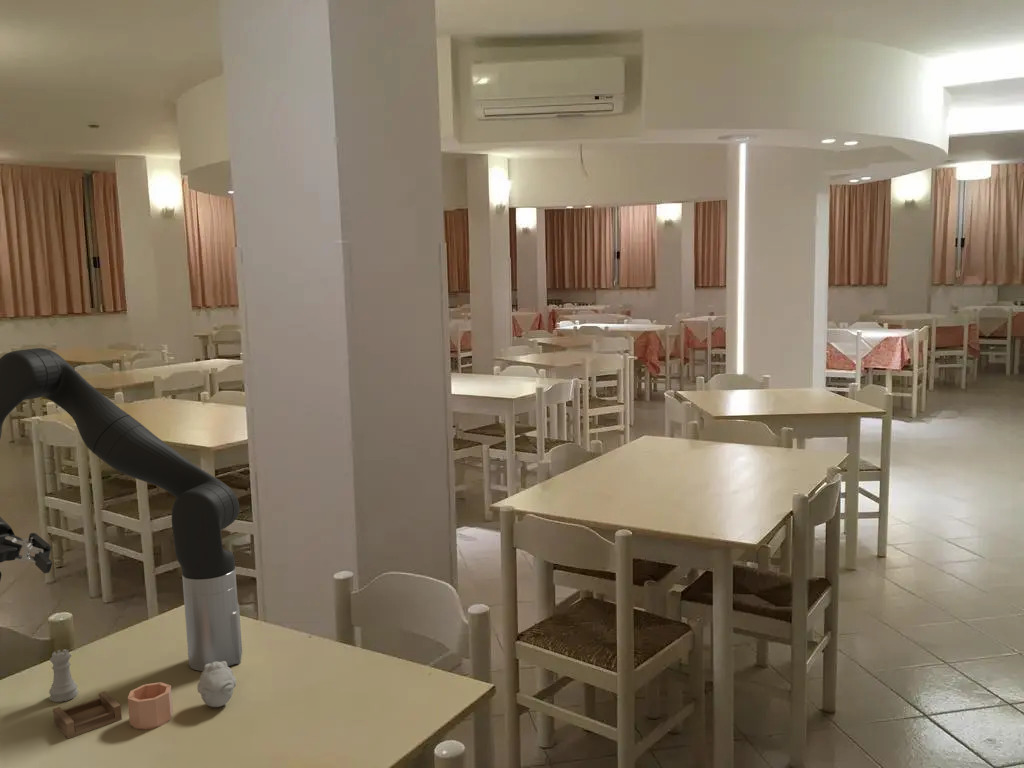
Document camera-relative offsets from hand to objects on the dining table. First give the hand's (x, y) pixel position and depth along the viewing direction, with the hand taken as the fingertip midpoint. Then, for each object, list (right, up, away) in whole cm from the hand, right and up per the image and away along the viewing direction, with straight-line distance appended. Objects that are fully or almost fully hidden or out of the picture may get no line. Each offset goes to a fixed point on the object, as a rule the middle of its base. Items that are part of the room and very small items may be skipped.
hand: (24, 573), depth 148 cm
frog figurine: (+37, -20, -8) cm, 43 cm away
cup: (+28, -21, -12) cm, 37 cm away
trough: (+17, -21, -12) cm, 30 cm away
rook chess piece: (+9, -21, -3) cm, 23 cm away
